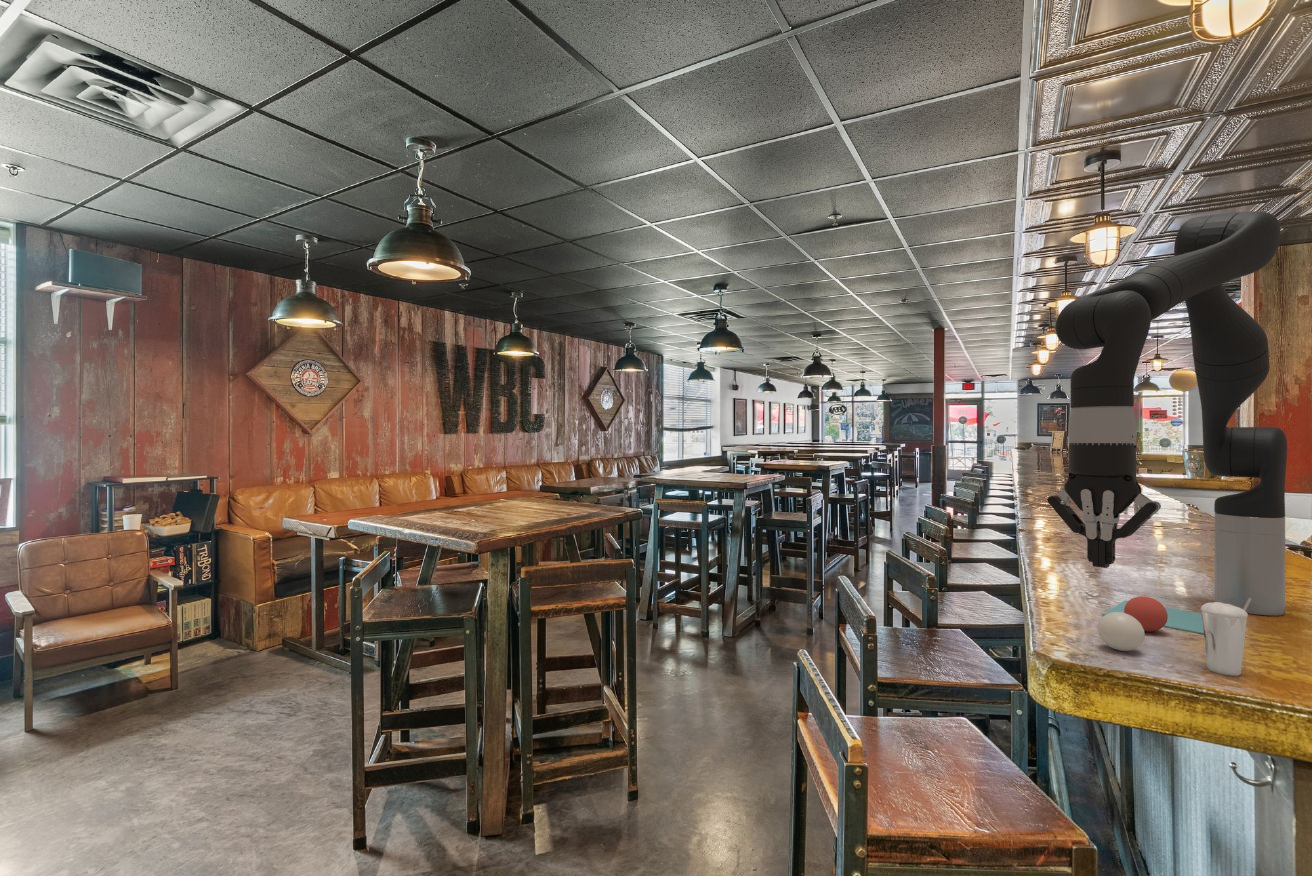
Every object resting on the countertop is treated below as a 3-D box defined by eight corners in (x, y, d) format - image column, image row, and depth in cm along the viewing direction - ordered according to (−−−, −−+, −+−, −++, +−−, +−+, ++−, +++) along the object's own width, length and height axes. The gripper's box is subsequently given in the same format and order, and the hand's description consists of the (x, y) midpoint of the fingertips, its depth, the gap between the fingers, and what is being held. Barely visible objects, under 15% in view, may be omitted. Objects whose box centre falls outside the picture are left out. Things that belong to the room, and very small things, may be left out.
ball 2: (1133, 623, 101) (1133, 590, 101) (1174, 632, 96) (1174, 598, 96) (1117, 628, 98) (1117, 595, 98) (1158, 638, 94) (1158, 603, 94)
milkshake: (1264, 679, 78) (1264, 602, 78) (1216, 676, 79) (1216, 600, 79) (1238, 666, 82) (1237, 593, 82) (1192, 663, 83) (1192, 591, 83)
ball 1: (1108, 641, 92) (1108, 605, 92) (1151, 652, 87) (1151, 614, 87) (1090, 647, 90) (1090, 610, 90) (1133, 659, 85) (1133, 620, 85)
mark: (1124, 601, 115) (1124, 600, 115) (1224, 618, 104) (1224, 617, 104) (1102, 615, 106) (1102, 613, 106) (1209, 635, 95) (1209, 633, 95)
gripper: (1037, 440, 85) (1037, 562, 85) (1156, 440, 75) (1156, 579, 75) (1055, 440, 90) (1055, 556, 90) (1170, 440, 80) (1170, 571, 80)
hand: (1101, 566), depth 82 cm, fingers closed
